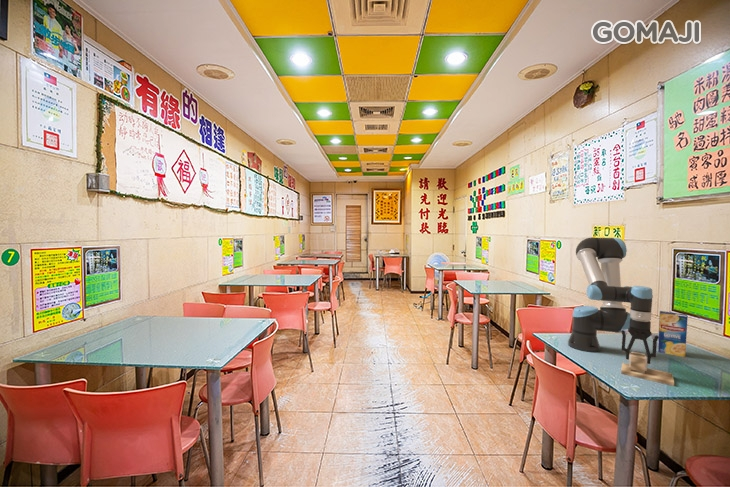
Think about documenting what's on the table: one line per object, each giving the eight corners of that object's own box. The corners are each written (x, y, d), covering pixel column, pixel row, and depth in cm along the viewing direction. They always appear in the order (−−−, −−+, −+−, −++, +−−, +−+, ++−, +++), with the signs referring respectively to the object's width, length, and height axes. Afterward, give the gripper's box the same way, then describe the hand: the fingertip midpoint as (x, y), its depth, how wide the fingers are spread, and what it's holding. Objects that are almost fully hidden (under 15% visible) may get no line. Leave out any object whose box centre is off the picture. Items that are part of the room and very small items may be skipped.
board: (621, 373, 152) (621, 370, 151) (622, 365, 161) (622, 362, 161) (674, 386, 140) (674, 382, 140) (671, 376, 149) (672, 373, 149)
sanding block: (630, 370, 151) (631, 356, 151) (630, 365, 157) (631, 351, 157) (644, 374, 148) (645, 358, 148) (644, 368, 154) (644, 354, 154)
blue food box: (685, 357, 174) (687, 316, 173) (657, 351, 181) (660, 312, 180) (684, 353, 179) (686, 314, 178) (657, 348, 186) (659, 310, 185)
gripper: (615, 317, 154) (613, 365, 155) (667, 325, 143) (664, 376, 144) (616, 314, 160) (613, 360, 161) (665, 321, 148) (662, 371, 150)
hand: (637, 368), depth 152 cm, fingers closed on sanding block, 5 cm apart
